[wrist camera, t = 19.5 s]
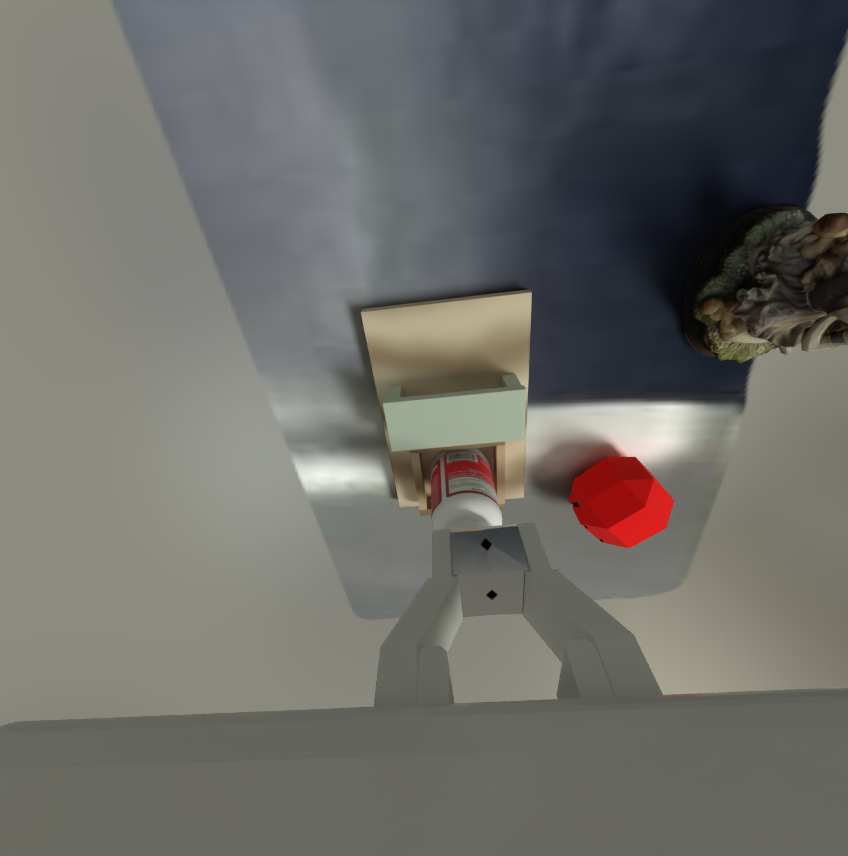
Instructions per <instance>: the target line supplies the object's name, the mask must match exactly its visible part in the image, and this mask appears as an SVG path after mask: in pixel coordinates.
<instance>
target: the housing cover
mask: <svg viewBox="0 0 848 856" xmlns="http://www.w3.org/2000/svg"><path fill="white" fill-rule="evenodd" d="M383 408H384V413H385V418H386V423H387V428H388V434H389V439H390V444H391V449H392V452H394V451H405V450H416V449H427V448H438V447H450V446H461V445H472V444H483V443H494V442H505V441H517V440H524V437H525V410H526V388H525V386H524V385H521V383H520V381H519V380H518V378H517V376H516V374H509V375H502V387H501V388H491V389H481V390H471V391H461V392H451V393H441V394H430V395H420V396H410V397H403V392H402V386H391V387H388V392H387V396H386V399H384V400H383Z"/></svg>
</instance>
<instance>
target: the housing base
mask: <svg viewBox="0 0 848 856" xmlns="http://www.w3.org/2000/svg"><path fill="white" fill-rule="evenodd" d="M531 299H532V292H531V291H529V290H520V291H512V292H503V293H494V294H486V295H477V296H469V297H460V298H452V299H443V300H434V301H426V302H417V303H409V304H400V305H392V306H383V307H374V308H366V309H363V310H362V311H361V316H362V321H363V326H364V331H365V336H366V341H367V346H368V351H369V356H370V361H371V366H372V371H373V376H374V381H375V386H376V391H377V396H378V401H379V406H380V410H381V415H382V420H383V425H384V430H385V435H386V440H387V445H388V450H389V455H390V460H391V465H392V470H393V475H394V480H395V485H396V490H397V495H398V500H399V505H400V507H411V506H419V510H420V516H421V515H431V465H432V462H433V460H434V459H435V457H436V456H437V455H438V454H439V453H440V452H441V451H444V450H455V449H466V448H476V449H477V450H479V451H480V452H482V453H483V454H484V456H485V457H486V459H487V461H488V463H489V466H490V470H491V474H492V478H493V482H494V486H495V490H496V494H497V498H498V502H499V506H500V509H505V499H512V498H524V475H525V450H526V425H527V400H528V375H529V349H530V324H531ZM509 374H516V376H517V378H518V380H519V381H520V383H521V385H524V386H525V388H526V410H525V437H524V440H517V441H505V442H494V443H483V444H472V445H461V446H450V447H438V448H427V449H416V450H405V451H394V452H392V449H391V444H390V439H389V434H388V428H387V423H386V418H385V413H384V408H383V400H384V399H386V396H387V392H388V387H391V386H402V392H403V397H410V396H420V395H430V394H441V393H451V392H461V391H471V390H481V389H491V388H501V387H502V375H509Z"/></svg>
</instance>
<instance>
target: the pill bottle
mask: <svg viewBox="0 0 848 856" xmlns="http://www.w3.org/2000/svg"><path fill="white" fill-rule="evenodd" d="M431 519H432V528H433V530H441V529H449V530H450V529H456V528H477V527H486V526H498V525H502V515H501V510H500V506H499V502H498V498H497V494H496V490H495V486H494V482H493V478H492V474H491V470H490V466H489V463H488V461H487V459H486V457H485V456H484V454H483V453H482V452H480V451H479V450H477V449H476V448H466V449H455V450H444V451H441V452H440V453H439V454H438V455H437V456H436V457H435V459H434V460H433V462H432V465H431Z"/></svg>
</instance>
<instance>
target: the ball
mask: <svg viewBox="0 0 848 856" xmlns="http://www.w3.org/2000/svg"><path fill="white" fill-rule="evenodd" d="M569 501H570V503H572V504H573V510H574V512H575V514H576V516H577V518H578V520H579V522H580V524H581V525H584V527H585V528H586V529H587V530H588V531H589V532H591V533H592V534H593V535H594V536H595V537H596V538H598V539H600V541H601V542H604V543H608V544H613V545H617V546H621V547H626V548H631V547H632V546H634V545H636V544H638V543H640V542H642V541H643V540H645V539H647V538H649V537H651V536H653V535H654V534H656V533H658V532H660V531H662V530H663V529H665V528H666V527H667V524H668V520H669V517H670V514H671V510H672V507H673V503H674V500H673V498H672V497H671V496H670V495H669V494H668V492H667V491H666V490H665V489H664V488H663V487H662V485H661V484H660V483H659V482H658V481H657V480H656V478H655V477H654V476H653V475H652V474H651V473H650V472H649V471H648V470H647V469H646V468H645V467H644V466H643V465H642V463H641V462H640V461H639V460H638V459H637V458H636V457H607V458H605V459H603V460H602V461H600V462H599V463H597V464H596V465H594V466H593V467H591V468H590V469H588V470H587V471H585V472H584V473H582V474H581V475H579V476H578V477H576V478H575V479H574V481H573V485H572V489H571V494H570V498H569Z"/></svg>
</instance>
